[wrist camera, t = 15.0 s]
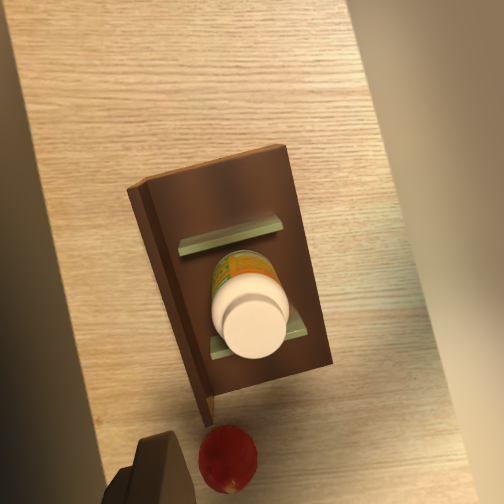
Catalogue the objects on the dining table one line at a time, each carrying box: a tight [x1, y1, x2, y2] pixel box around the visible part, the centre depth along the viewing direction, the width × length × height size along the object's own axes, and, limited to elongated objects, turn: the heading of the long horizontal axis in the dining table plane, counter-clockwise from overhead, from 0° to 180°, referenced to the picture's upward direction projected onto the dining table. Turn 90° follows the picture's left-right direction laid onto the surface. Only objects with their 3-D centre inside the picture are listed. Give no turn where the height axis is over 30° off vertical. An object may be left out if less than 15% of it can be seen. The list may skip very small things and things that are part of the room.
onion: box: [198, 426, 258, 494], centre depth 41 cm, size 6×6×8 cm
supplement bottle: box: [211, 250, 289, 359], centre depth 31 cm, size 5×5×10 cm
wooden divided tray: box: [127, 144, 333, 427], centre depth 36 cm, size 12×20×9 cm, turn 14°
